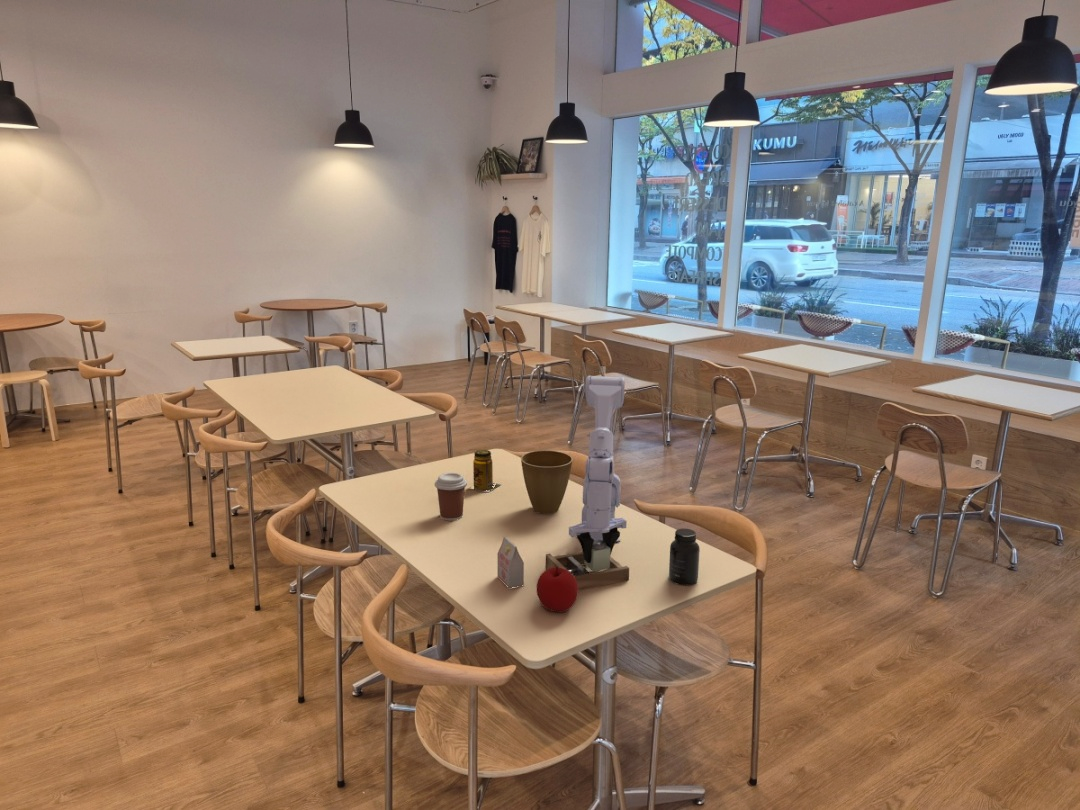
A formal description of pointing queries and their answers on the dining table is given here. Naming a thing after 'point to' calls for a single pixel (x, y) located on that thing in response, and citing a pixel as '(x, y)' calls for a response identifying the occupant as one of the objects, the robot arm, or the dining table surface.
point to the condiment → (483, 471)
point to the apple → (557, 589)
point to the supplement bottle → (684, 557)
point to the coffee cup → (451, 495)
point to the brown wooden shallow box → (591, 579)
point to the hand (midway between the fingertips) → (596, 559)
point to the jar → (599, 556)
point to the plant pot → (546, 478)
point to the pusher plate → (575, 567)
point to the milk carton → (510, 564)
